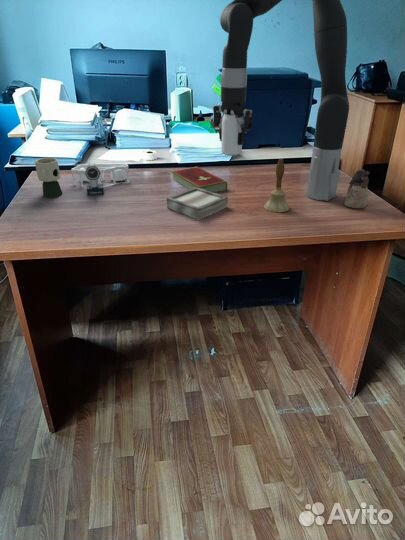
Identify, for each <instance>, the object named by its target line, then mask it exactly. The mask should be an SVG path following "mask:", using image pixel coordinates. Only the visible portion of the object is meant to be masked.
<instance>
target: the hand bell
mask: <svg viewBox="0 0 405 540" xmlns="http://www.w3.org/2000/svg"><path fill="white" fill-rule="evenodd" d="M284 173H285V163H284V159H283V158H279V159H278V161H277V164H276V167H275V176H276V184H275V189H273V190H271V192H270V196H269V199H268V201H267V202H266V203H265V204H264V205H263V207H264V210H266V211H268V212H270V213H271V212H272V213H285V212H288V211H289V210H290V205H289V204H288V203H287V200H286V192H285V191H284V190H282V183H283V181H282V179H283V176H284Z"/></svg>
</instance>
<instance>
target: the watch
mask: <svg viewBox="0 0 405 540" xmlns="http://www.w3.org/2000/svg"><path fill="white" fill-rule="evenodd" d="M87 164H88V166H87V169H86V171H85V175H86V177H87V179H88V181H87V182H88V183H89V184H87V185H86V192H87V196H98V195H99V196H100V195H104V194H105V192H104V191H105V190H104V187H103V186H104V183H101V184H98V182H99V177H100V178H101V175H102V173H101V172H100V171H99V169H98V167H97V165H95V164H96V163H87Z"/></svg>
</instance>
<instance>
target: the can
mask: <svg viewBox="0 0 405 540" xmlns="http://www.w3.org/2000/svg"><path fill="white" fill-rule="evenodd" d="M236 116H237V115H236ZM237 118H238V117H237ZM243 118H244V117H243ZM243 118H242V117H240V118H238V121H239V122H240V121H243ZM241 127H242V124H241ZM238 133H239V131H238V126H237V125H236V119H235V115H230V114H224V116H223V118H222V141H221V148H220V149H221V153H222V154H223V155H226V156H239V155H241V153H242V150H243V148H242V147H243V145H238Z"/></svg>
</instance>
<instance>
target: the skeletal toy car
mask: <svg viewBox="0 0 405 540" xmlns="http://www.w3.org/2000/svg"><path fill="white" fill-rule="evenodd" d="M88 164H89V163H84V164H78V165H77V166H75V167H73V168H71V169H70V170H71V176H72V182H73V186H77V181H76V176H75V174H78V175H79V180H80V187H81V188H84V182H89V181H88V179H87V177H86V175H85V171H86V169H87V166H88ZM95 165H97V167H98V169H99V171H100V172H101V173H102V174H101V176H100V177H99V182H98V184H102V181H105V174H106V173H110V180H111V181H112V182H113V183H112V186H114V185H118V184H120V181H121V182H122V181H125V182H123V184H129V183H130V182H131V181H130V180H131V179H130V172H129V171H130V170H129V165H128V164H127V163H121V162H120V163H119V162H118V163H115V162H114V163H95ZM109 186H111V184H106V185H103V188H104V187H109Z"/></svg>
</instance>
